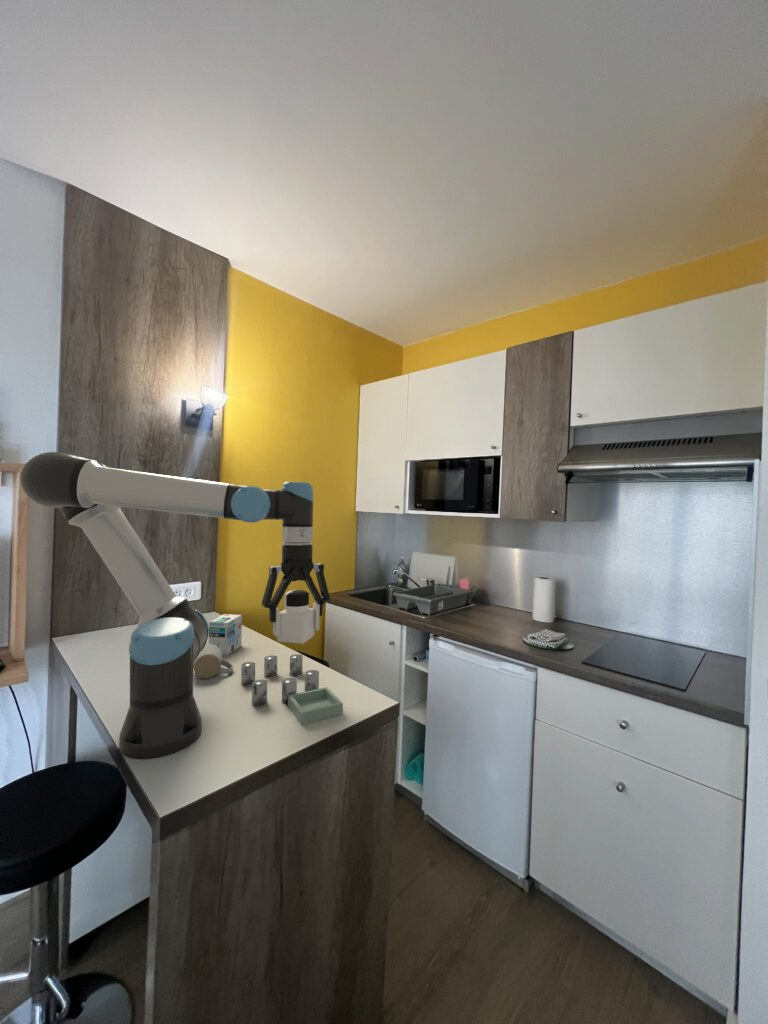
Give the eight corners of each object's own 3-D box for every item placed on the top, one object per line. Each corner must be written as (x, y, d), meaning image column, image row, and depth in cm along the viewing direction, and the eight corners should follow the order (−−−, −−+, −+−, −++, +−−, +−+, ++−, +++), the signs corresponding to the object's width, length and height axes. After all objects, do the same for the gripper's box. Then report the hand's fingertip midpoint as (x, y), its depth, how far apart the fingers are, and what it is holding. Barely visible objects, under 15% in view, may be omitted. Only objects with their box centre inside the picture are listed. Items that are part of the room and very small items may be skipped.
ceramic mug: (192, 682, 115) (193, 653, 115) (193, 670, 122) (194, 644, 122) (233, 677, 119) (234, 650, 119) (232, 666, 126) (233, 641, 126)
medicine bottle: (314, 635, 109) (315, 589, 109) (303, 644, 102) (304, 594, 102) (289, 633, 110) (289, 587, 110) (276, 641, 103) (277, 593, 103)
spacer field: (255, 711, 99) (255, 690, 99) (238, 678, 117) (238, 660, 117) (323, 696, 107) (324, 677, 107) (297, 667, 126) (297, 651, 126)
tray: (301, 724, 93) (301, 713, 93) (288, 705, 102) (288, 695, 102) (342, 714, 98) (342, 703, 98) (326, 697, 107) (326, 687, 107)
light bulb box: (227, 656, 135) (227, 622, 135) (207, 655, 136) (207, 621, 136) (242, 645, 146) (242, 614, 145) (223, 644, 146) (224, 613, 146)
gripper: (256, 546, 97) (255, 643, 97) (344, 543, 109) (342, 629, 109) (248, 543, 103) (247, 634, 103) (331, 541, 115) (330, 622, 115)
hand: (296, 631), depth 106 cm, fingers closed on medicine bottle, 10 cm apart
